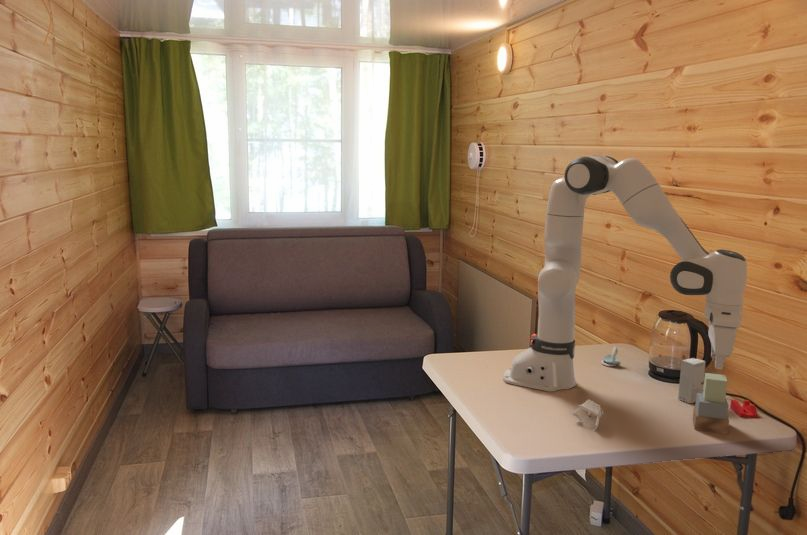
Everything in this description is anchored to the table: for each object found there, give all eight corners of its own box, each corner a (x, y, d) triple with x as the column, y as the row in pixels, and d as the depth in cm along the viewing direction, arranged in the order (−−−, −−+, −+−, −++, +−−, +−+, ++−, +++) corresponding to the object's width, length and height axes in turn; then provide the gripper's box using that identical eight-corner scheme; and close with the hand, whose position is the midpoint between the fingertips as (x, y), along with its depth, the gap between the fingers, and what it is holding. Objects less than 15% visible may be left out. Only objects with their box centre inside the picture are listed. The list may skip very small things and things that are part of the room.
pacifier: (604, 368, 228) (622, 368, 228) (605, 350, 227) (623, 350, 227) (598, 361, 236) (615, 361, 235) (599, 344, 234) (616, 343, 234)
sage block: (704, 400, 180) (706, 378, 179) (702, 393, 184) (705, 372, 183) (724, 403, 178) (727, 381, 177) (723, 396, 183) (725, 375, 182)
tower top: (697, 415, 179) (699, 401, 179) (695, 406, 186) (696, 392, 185) (726, 419, 177) (728, 405, 177) (723, 410, 184) (724, 396, 183)
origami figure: (565, 416, 187) (566, 399, 186) (592, 414, 189) (594, 397, 188) (586, 435, 175) (588, 417, 174) (615, 432, 177) (617, 414, 176)
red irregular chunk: (729, 409, 195) (731, 399, 195) (747, 410, 195) (748, 400, 194) (739, 418, 189) (741, 408, 188) (757, 419, 189) (758, 408, 188)
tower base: (694, 430, 180) (695, 416, 179) (692, 419, 187) (694, 405, 187) (727, 435, 177) (729, 420, 177) (724, 423, 185) (725, 409, 184)
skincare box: (690, 404, 197) (694, 364, 195) (676, 399, 201) (680, 360, 199) (702, 400, 201) (707, 361, 198) (689, 395, 204) (693, 356, 202)
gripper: (706, 302, 188) (700, 350, 190) (713, 320, 169) (707, 373, 171) (731, 305, 186) (724, 353, 188) (741, 323, 167) (734, 376, 169)
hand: (716, 363), depth 180 cm, fingers open, 8 cm apart
